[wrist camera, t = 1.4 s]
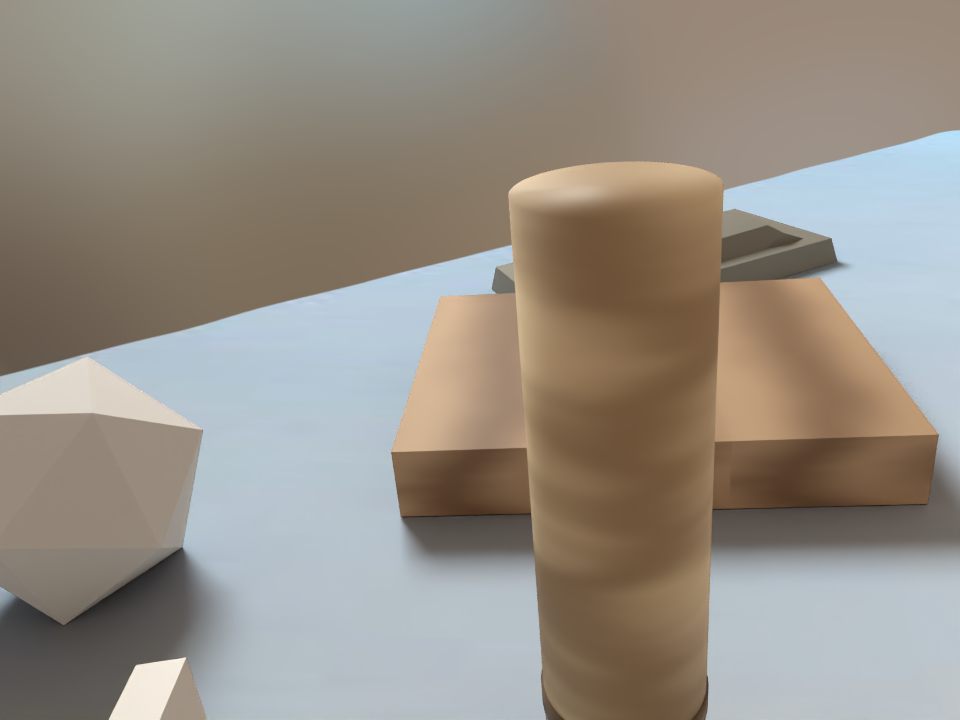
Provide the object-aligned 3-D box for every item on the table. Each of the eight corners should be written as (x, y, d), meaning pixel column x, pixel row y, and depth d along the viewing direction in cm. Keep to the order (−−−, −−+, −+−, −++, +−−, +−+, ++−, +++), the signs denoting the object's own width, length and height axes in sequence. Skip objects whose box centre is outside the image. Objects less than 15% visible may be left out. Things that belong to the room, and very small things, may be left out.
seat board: (400, 516, 35) (391, 451, 34) (445, 346, 50) (440, 296, 48) (927, 504, 33) (938, 434, 32) (815, 330, 47) (819, 277, 46)
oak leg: (547, 848, 22) (499, 226, 15) (549, 716, 26) (510, 168, 19) (716, 850, 22) (746, 212, 15) (693, 716, 25) (708, 155, 18)
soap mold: (839, 270, 57) (844, 217, 55) (571, 350, 49) (568, 291, 48) (731, 232, 65) (733, 185, 63) (488, 295, 58) (484, 244, 56)
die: (150, 493, 40) (-55, 373, 34) (279, 427, 35) (69, 278, 30) (81, 671, 34) (-175, 560, 29) (225, 617, 30) (-45, 475, 25)
